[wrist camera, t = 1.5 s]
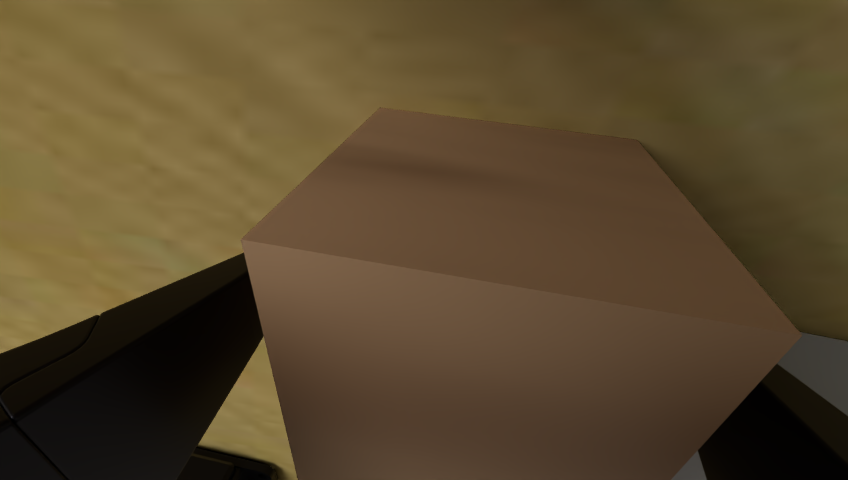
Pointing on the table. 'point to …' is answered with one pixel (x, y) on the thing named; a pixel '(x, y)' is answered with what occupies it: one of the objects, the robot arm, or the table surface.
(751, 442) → the robot arm
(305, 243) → the walnut cube
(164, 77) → the table surface
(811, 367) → the base block
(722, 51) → the table surface
